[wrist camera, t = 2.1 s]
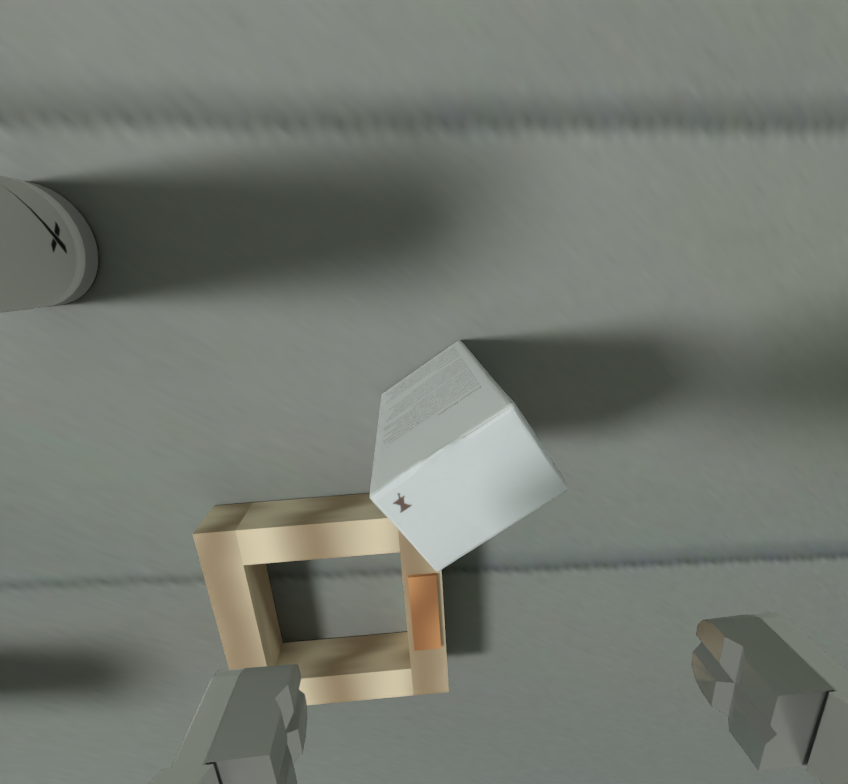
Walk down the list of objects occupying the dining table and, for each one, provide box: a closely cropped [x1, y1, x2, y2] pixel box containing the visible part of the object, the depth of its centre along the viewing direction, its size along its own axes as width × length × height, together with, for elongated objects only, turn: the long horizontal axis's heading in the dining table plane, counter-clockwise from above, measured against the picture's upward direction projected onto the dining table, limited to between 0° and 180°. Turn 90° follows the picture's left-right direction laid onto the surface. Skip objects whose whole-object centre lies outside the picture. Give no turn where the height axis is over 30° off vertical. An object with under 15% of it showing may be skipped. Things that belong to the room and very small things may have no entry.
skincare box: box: [369, 341, 569, 571], centre depth 20 cm, size 6×4×12 cm
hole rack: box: [193, 493, 449, 705], centre depth 28 cm, size 15×15×3 cm
